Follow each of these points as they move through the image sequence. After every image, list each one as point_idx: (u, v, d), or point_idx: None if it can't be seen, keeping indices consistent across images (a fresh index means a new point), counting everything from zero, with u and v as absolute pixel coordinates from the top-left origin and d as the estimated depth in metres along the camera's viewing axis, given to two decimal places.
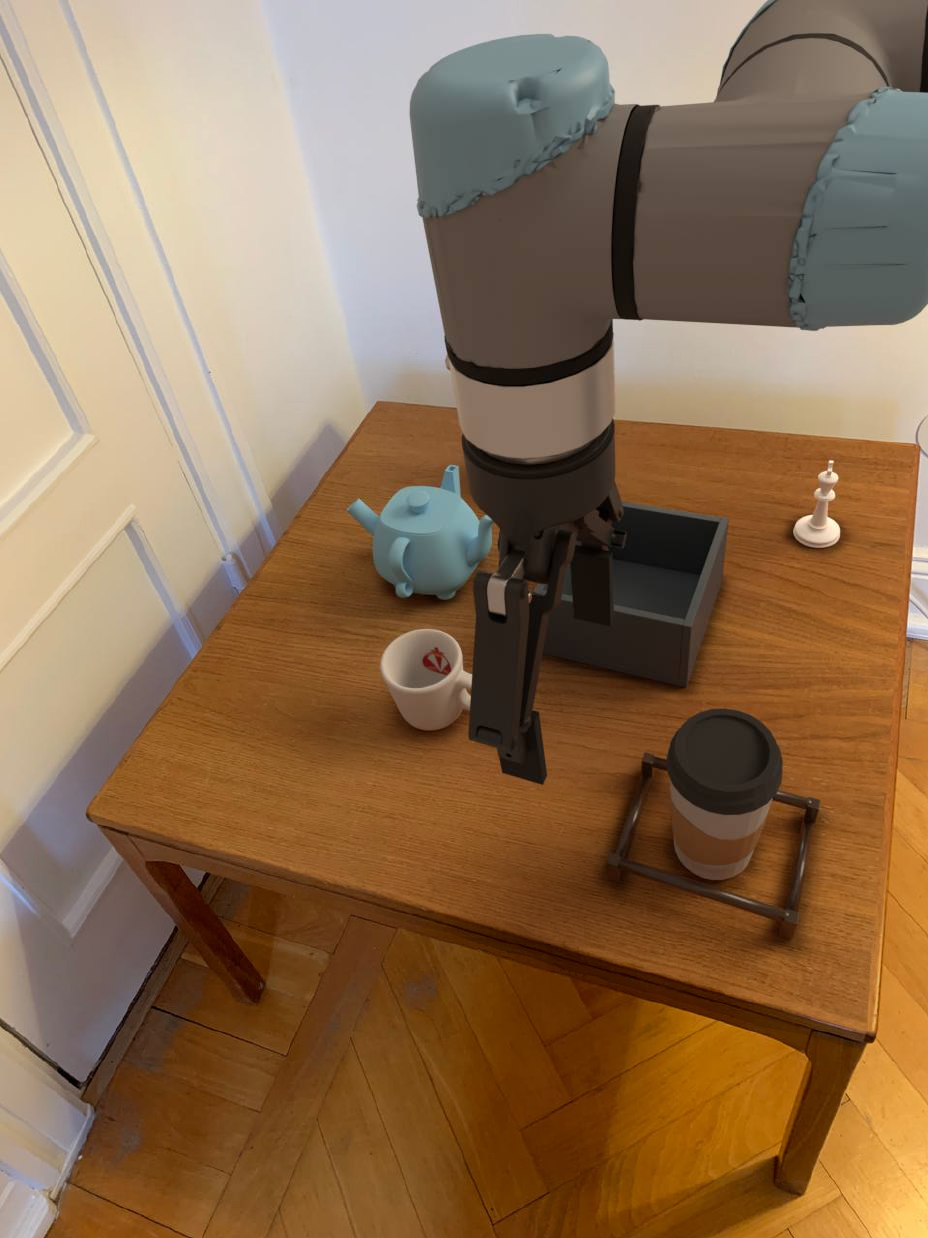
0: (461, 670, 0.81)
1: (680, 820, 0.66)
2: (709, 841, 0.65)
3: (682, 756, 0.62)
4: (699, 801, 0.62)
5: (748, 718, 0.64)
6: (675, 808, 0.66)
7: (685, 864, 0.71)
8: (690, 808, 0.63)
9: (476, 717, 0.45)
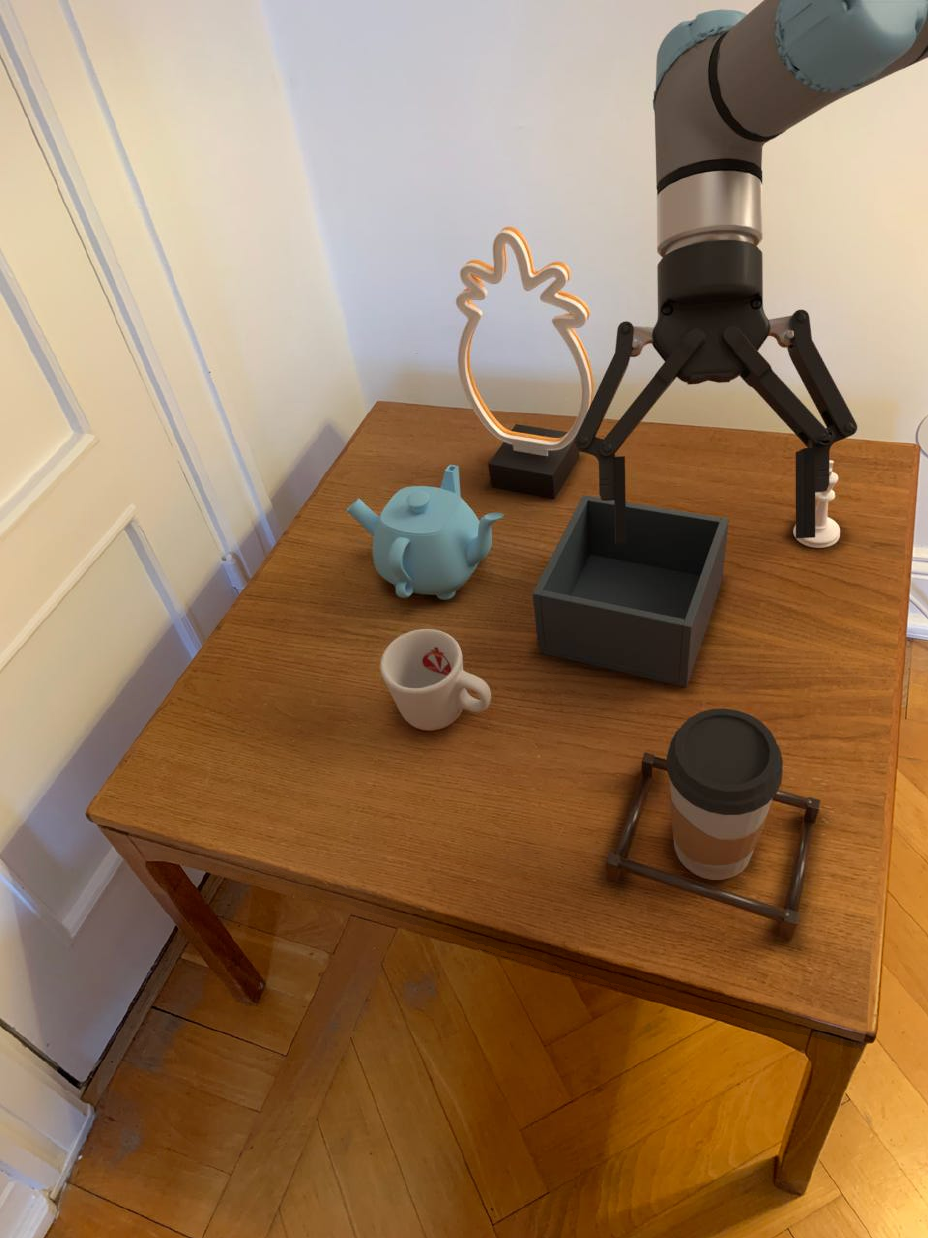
0: (461, 670, 0.81)
1: (680, 820, 0.66)
2: (709, 841, 0.65)
3: (682, 756, 0.62)
4: (699, 801, 0.62)
5: (748, 718, 0.64)
6: (675, 808, 0.66)
7: (685, 864, 0.71)
8: (690, 808, 0.63)
9: None
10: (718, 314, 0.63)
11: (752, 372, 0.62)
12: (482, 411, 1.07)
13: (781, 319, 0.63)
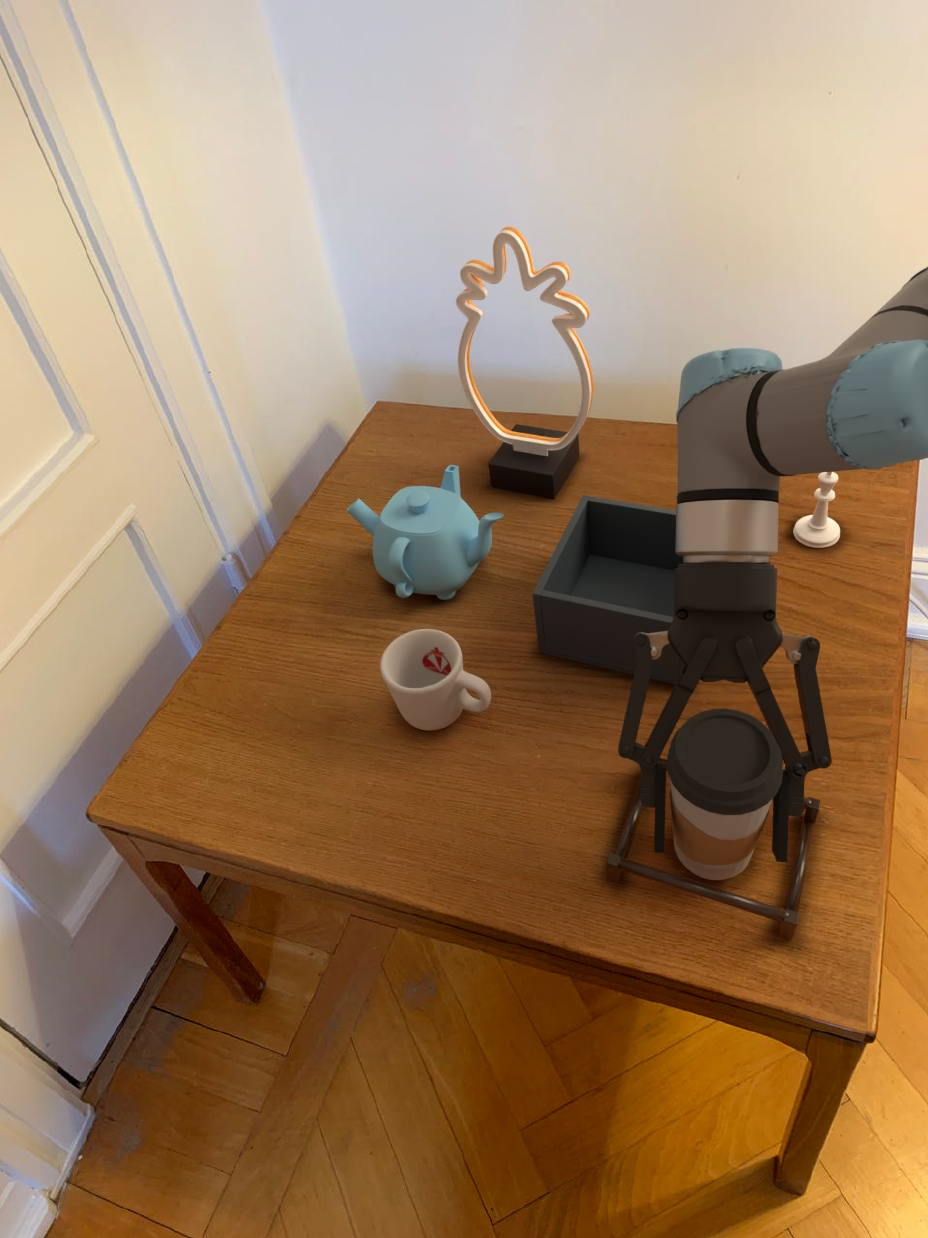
0: (461, 670, 0.81)
1: (681, 820, 0.66)
2: (709, 841, 0.65)
3: (682, 757, 0.62)
4: (699, 802, 0.62)
5: (748, 718, 0.64)
6: (675, 808, 0.66)
7: (685, 864, 0.71)
8: (690, 808, 0.63)
9: None
10: (731, 623, 0.65)
11: (752, 686, 0.64)
12: (482, 411, 1.07)
13: (794, 638, 0.65)
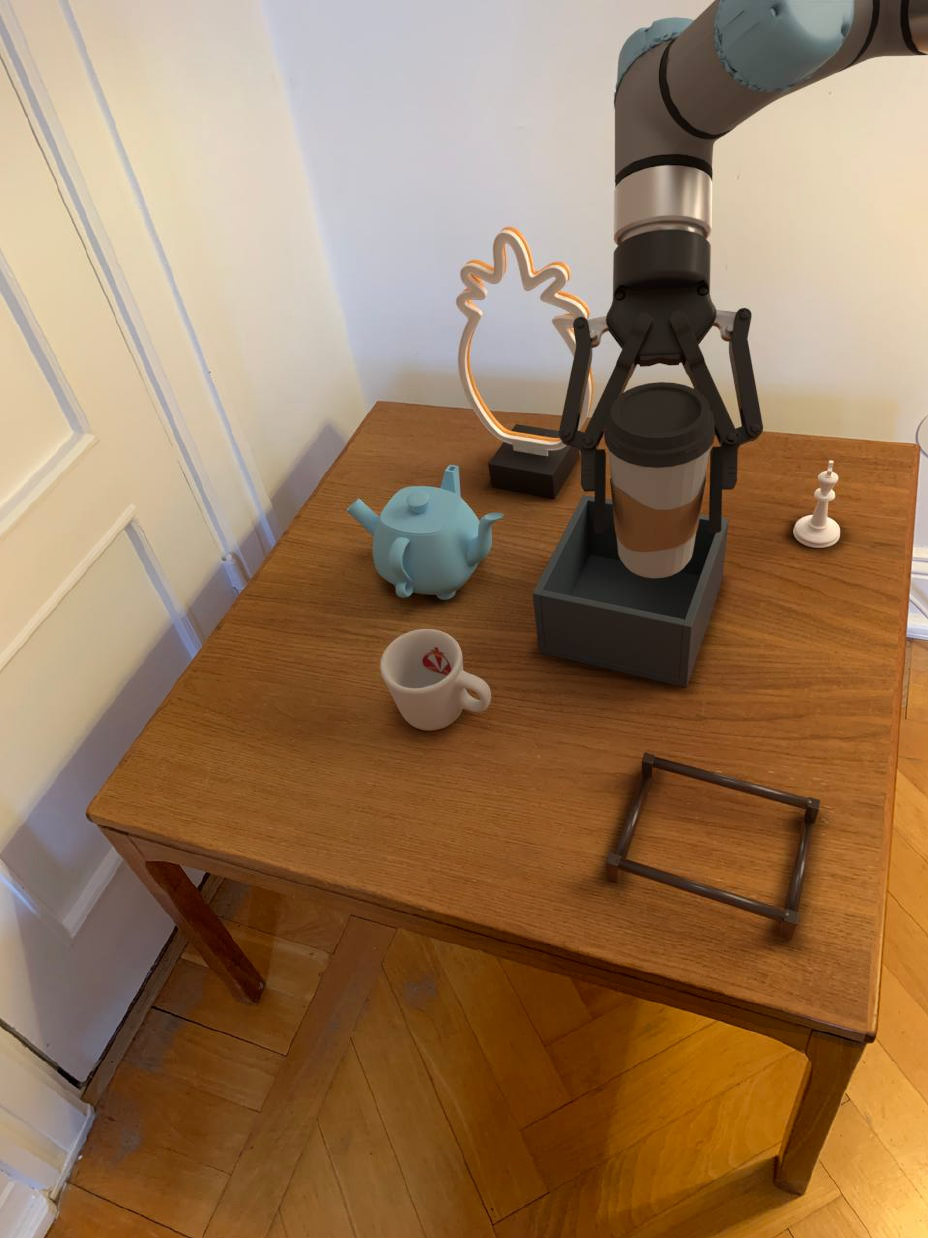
0: (461, 670, 0.81)
1: (619, 497, 0.68)
2: (646, 514, 0.67)
3: (617, 417, 0.64)
4: (633, 456, 0.63)
5: (682, 387, 0.66)
6: (614, 486, 0.68)
7: (628, 563, 0.73)
8: (626, 473, 0.65)
9: None
10: (667, 299, 0.67)
11: (686, 359, 0.66)
12: (482, 411, 1.07)
13: (728, 313, 0.67)
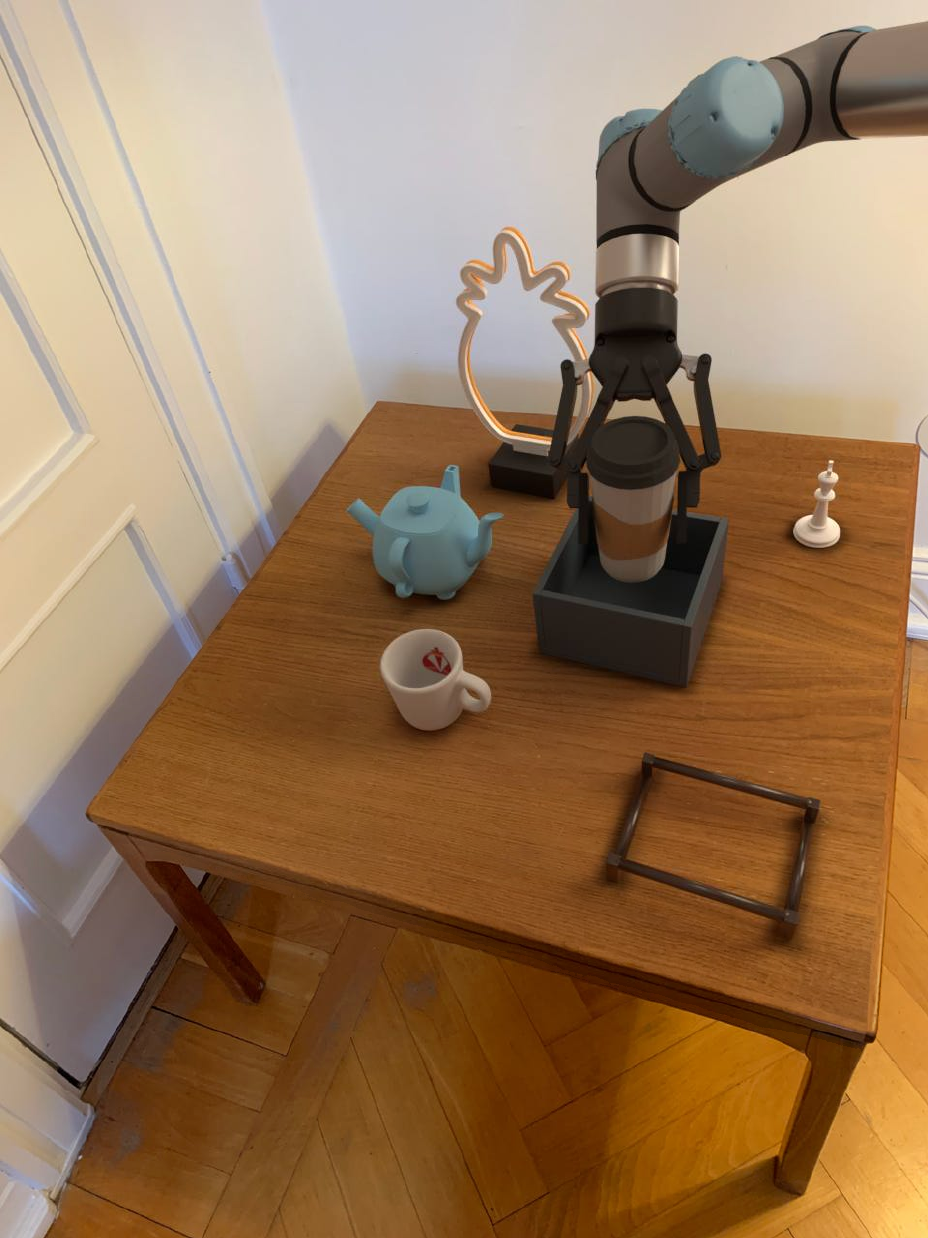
0: (461, 670, 0.81)
1: (599, 513, 0.80)
2: (622, 528, 0.79)
3: (596, 446, 0.76)
4: (610, 480, 0.75)
5: (653, 420, 0.77)
6: (595, 504, 0.80)
7: (608, 569, 0.85)
8: (604, 493, 0.77)
9: None
10: (640, 345, 0.78)
11: (656, 396, 0.78)
12: (482, 411, 1.07)
13: (692, 357, 0.78)
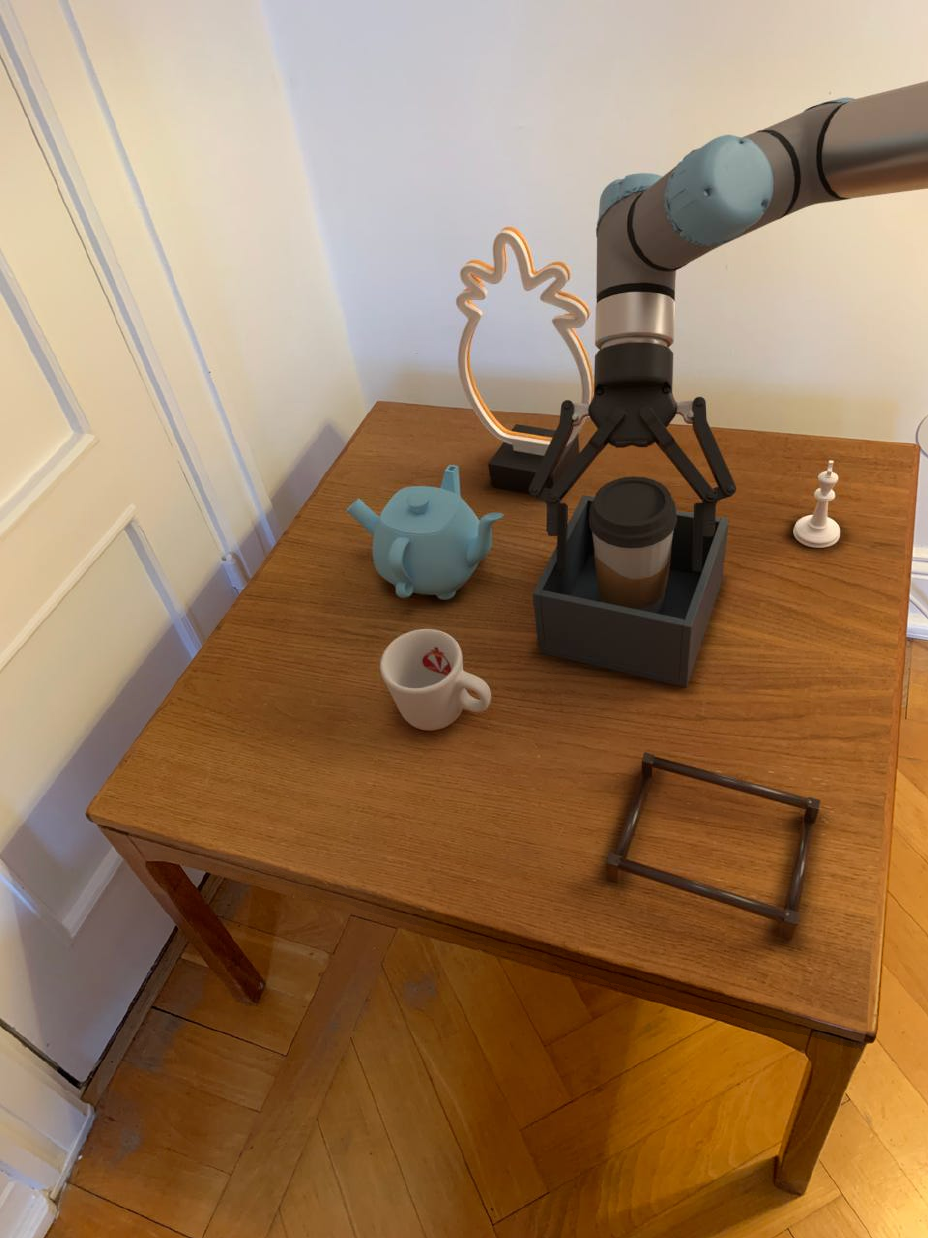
0: (461, 670, 0.81)
1: (601, 567, 0.85)
2: (623, 581, 0.84)
3: (598, 507, 0.81)
4: (611, 539, 0.80)
5: (651, 481, 0.82)
6: (597, 558, 0.85)
7: None
8: (606, 550, 0.82)
9: None
10: (637, 396, 0.82)
11: (659, 442, 0.82)
12: (482, 411, 1.07)
13: (686, 402, 0.82)
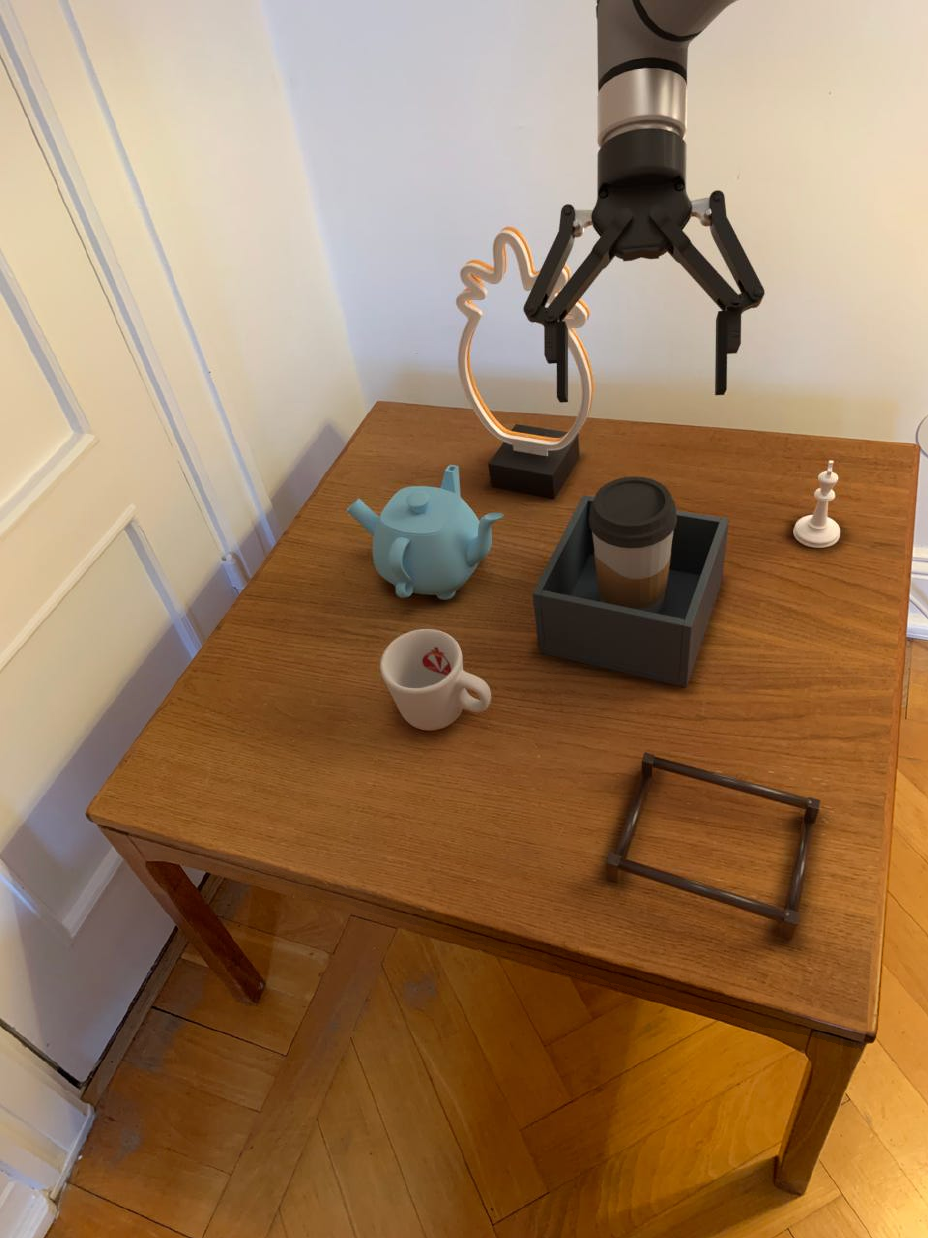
0: (461, 670, 0.81)
1: (601, 567, 0.85)
2: (623, 581, 0.84)
3: (598, 507, 0.81)
4: (611, 539, 0.80)
5: (651, 481, 0.82)
6: (597, 558, 0.85)
7: None
8: (606, 550, 0.82)
9: None
10: (646, 196, 0.73)
11: (674, 245, 0.72)
12: (482, 411, 1.07)
13: (702, 200, 0.73)
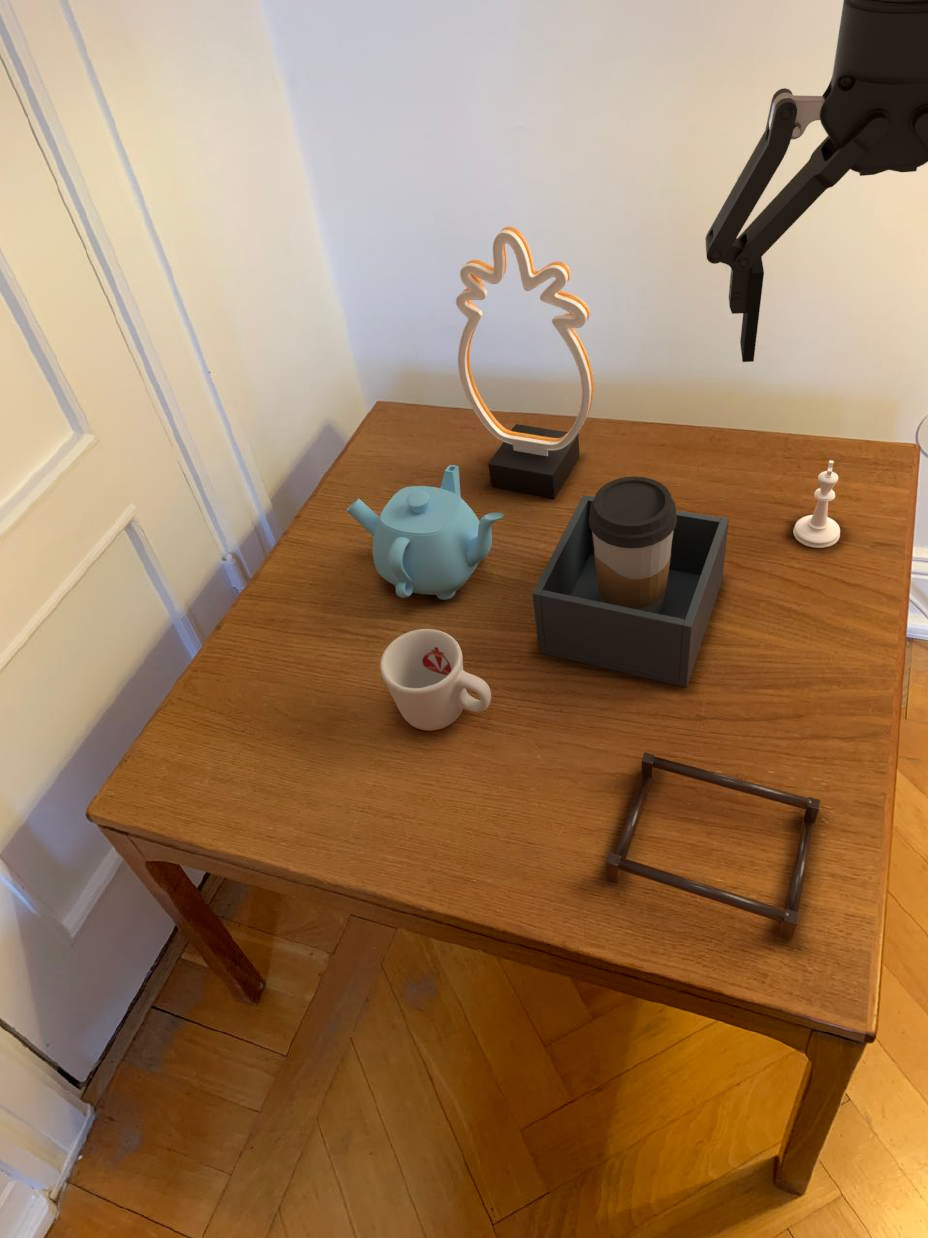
0: (461, 670, 0.81)
1: (601, 567, 0.85)
2: (623, 581, 0.84)
3: (598, 507, 0.81)
4: (611, 539, 0.80)
5: (651, 481, 0.82)
6: (597, 558, 0.85)
7: None
8: (606, 550, 0.82)
9: (715, 221, 0.56)
10: (915, 86, 0.47)
11: None
12: (482, 411, 1.07)
13: None
